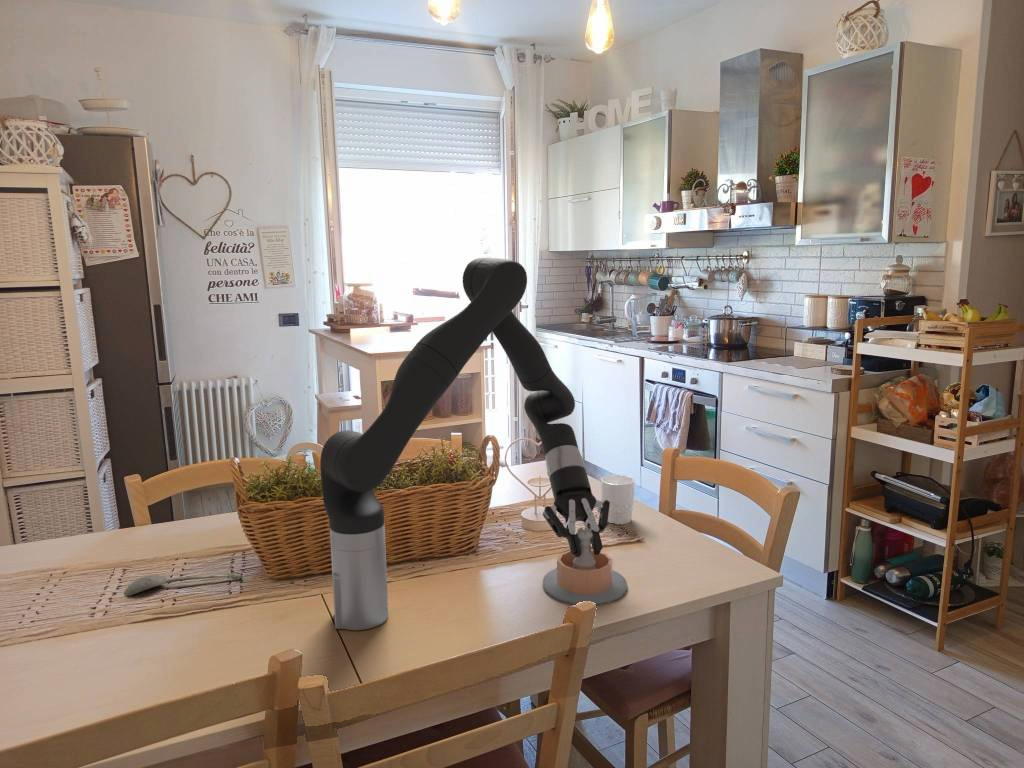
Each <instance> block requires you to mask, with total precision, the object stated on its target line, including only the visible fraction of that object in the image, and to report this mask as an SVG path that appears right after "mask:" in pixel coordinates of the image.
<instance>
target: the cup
mask: <svg viewBox="0 0 1024 768" xmlns="http://www.w3.org/2000/svg"><path fill="white" fill-rule="evenodd" d="M591 554H592V556H593V559H594V560H595V563H596V564H595V567H596V569H592V570H581V569H574V568H573V565H574V564H573V560H574V559H575V555H574V554H573V555H572V553H571V550H570V549H569V550H566V551H564V552H562V553H560V554H559V555H558V557H557V559H556V560H557V561H556V565H557V566H556V568H554V569H551V570H550V571H548V572H547V573H546V574H545V575H544V576H543V579H542V587H543V591H544V592H545V593H546V594H547V595H548V596H550V598H553V599H555V600H557V601H559V602H562V603H564V604H570V605H574V604H577V603H579V602H583V601H591V602H594V603H596V605H595V606H600V604H602V605H605V604H604V603H607V604H609V603H608V602H611V603H613V602H615V600H616V601H617V599H618V600H620V599H621V598H622V597H623V596H625V594H626V592H627V590H628V583H627V580H626V578H625V577H624V575H622V574H621V573H619V572H617V571H615V570H614V569H613V558H612V557H611V556H610V555H609V554H608V553H605V552H603V551H601V552H600V553H599V555H594V552H593V549H591ZM619 598H620V599H619ZM612 601H613V602H612Z"/></svg>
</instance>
